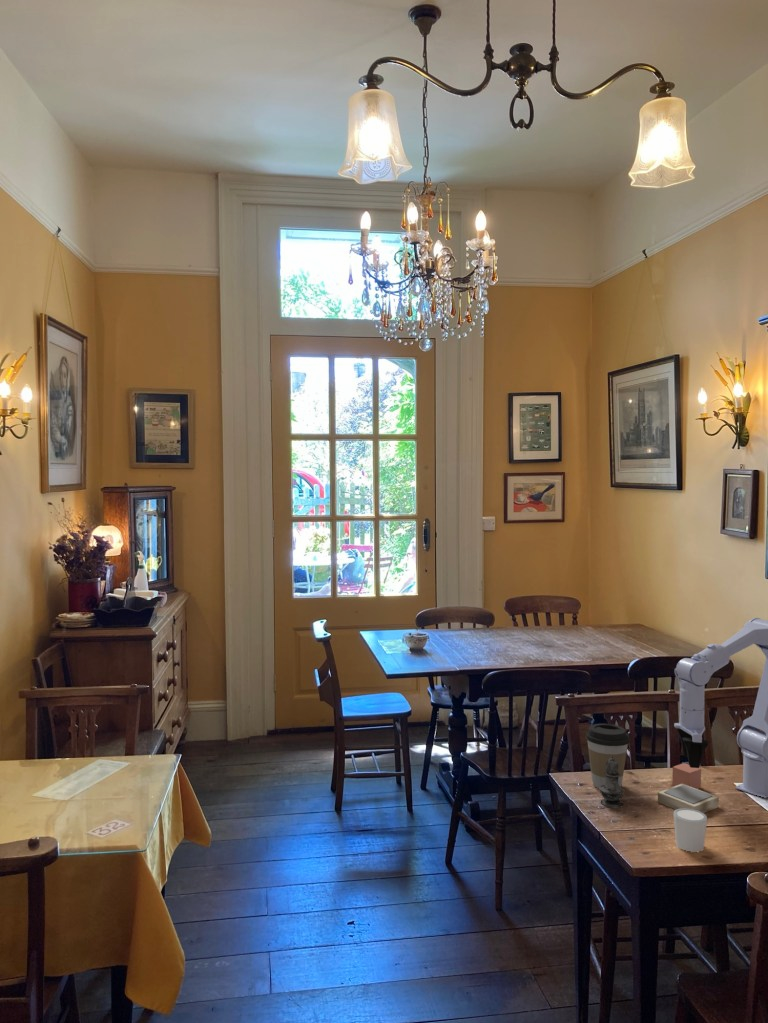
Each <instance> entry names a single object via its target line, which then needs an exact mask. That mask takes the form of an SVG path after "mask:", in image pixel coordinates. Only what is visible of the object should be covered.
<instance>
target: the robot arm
mask: <svg viewBox="0 0 768 1023" xmlns="http://www.w3.org/2000/svg"><path fill="white" fill-rule="evenodd" d="M752 645H755V646H756V647H757V648H759V649H760V650H761V651H762V653H763V655H764V656H765V661H764V665H763V670H762V674H761V677H760V682H759V686H758V690H757V695H756V699H755V703H754V708H753V712H752V715H751V716H749V717H747V718H745V719H744V720H743V721H742V725H741V727H740V728H739V730H738V731H737V735H736V743H737V745H738V747H739V748H740V750H741V753H742V754H743V760H742V761H743V763H742V764H743V768H742V770H743V771H742V783H740V784H739V785H736V786H735V789H736V790H740V791H742V792H745V793H748V794H751V795H754V796H756V795H757V797H759V796H761V797H760V798H762V797H764V798H763V799H767V798H766V797H768V619H767V620H766V619H761V618H759V617H754V618H751V619H750V620H749V621H747V622H744V625H743V628H741V629H740V630H739V631H738V632H736V633H735V634H733V635H732V636H730V637H729V638H728V639H727V640H725V641H724V642H722V643H721V644H719V643H708V644H707V645H706V648H705V649H702V650H701V651H699V652H698V653H694V654H693V655H692V656H691V657H690V658H689V657H684V658H682V659H680V660H679V661H678V662H677V663H676V667H675V668H674V676H675V677H676V678H677V684H678V686H679V717H678V718H679V722H674V723H673V724H674V725H673V726H674V728H675V729H676V731H677V732H678V735H679V738H680V743H681V748H682V753H683V755H684V756H683V757H687V760H688V765H689V766H690V767H691V768H700V765H701V763H702V759H703V755H704V752H705V750H706V748H707V747H708V745H709V742H708V740H705V739H703V737H702V736H703V734H704V733H705V731H706V726H705V694H706V693H705V692H706V690H705V688H706V686H705V685H706V684H707V683H709V681H710V679H711V677H712V676H713V674H714V673H715V672H717V671H718V670H720V669H722V668H723V667H725V666H726V665H728V664H729V663H730V658H731V656H733V655H735V654H738V653H740V652H741V651H742V650H745V649H746V648H748V647H750V646H751V647H752Z"/></svg>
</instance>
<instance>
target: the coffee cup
mask: <svg viewBox="0 0 768 1023" xmlns="http://www.w3.org/2000/svg"><path fill="white" fill-rule="evenodd" d="M588 727H589V728H588V730H587V731H585V735H584V736H585V737H584V738H585V739H586V742H587V747H588V757H589V759H588V760H589V766H590V767H589V768H590V775H591V781H592V785H593V787H594V786H595V788H597V789H598V790H600V786H602V785H605V782H606V775H605V774H604V773H605V772H606V761H607V760H608V759H610V758H611V756H612V755H613V758H614V759H615V760H617V761H618V773H619V774H620V776H618V783H619V786H620V787H622V784H623V778H624V772H625V771H624V770H625V765H626V757H627V754H628V753H627V751H628V745H629V743H631V738H630V735H629V734H628V733H627V730H626V729H625V728H624V727H622V726H620V725H618V724H611V723H594V724H591V725H590V726H588Z"/></svg>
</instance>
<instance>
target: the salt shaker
mask: <svg viewBox="0 0 768 1023" xmlns="http://www.w3.org/2000/svg"><path fill="white" fill-rule="evenodd" d="M604 774H605V775H606V782H605V785H602V786H600V789H599V790H600V793H601V797H603V798H602V799H601V800H600V803H601V805H602V806H604V807H606V806H607V808H612V809H617V808H619V809H620V808H621V807H623V805H624V803H623V802H622V800H621V799H622V797H623V795H624V793H625V789H624V788H623V787H622V786H621V787H620V786H619V783H618V776H620V774H619V773H618V761H617V760H615V759H614V758H613V755H612V756H611V758H610V759H608V760H607V761H606V772H605V773H604Z"/></svg>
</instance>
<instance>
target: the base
mask: <svg viewBox="0 0 768 1023" xmlns="http://www.w3.org/2000/svg"><path fill="white" fill-rule="evenodd" d="M719 798H720V797H719V796H717V795H714V794H711V793H709V792H706V791H704V790H701V789H699V788H698V789H696V788H693V787H690V786H687V785H685V784H679V785H677V786H672V787H669V788H666V789H663V790H660V791H658V792H657V803H658V802H659V803H658V804H662V805H663V806H666V807H669V808H670V809H674V810H677V809H693V810H696V811H699V812H701V813H703V814H705V813H708V812H711V811H712V810H714V809H717V808H719V801H720V800H719Z"/></svg>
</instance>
